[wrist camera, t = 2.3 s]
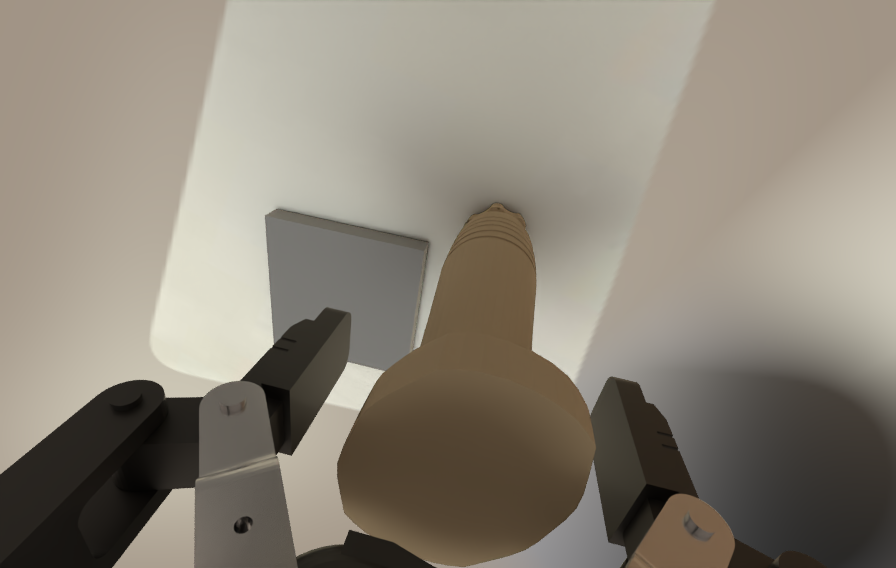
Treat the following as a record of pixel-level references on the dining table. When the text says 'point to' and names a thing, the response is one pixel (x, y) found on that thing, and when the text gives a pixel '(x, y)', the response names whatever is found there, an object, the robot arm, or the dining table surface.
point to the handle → (471, 417)
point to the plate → (346, 282)
